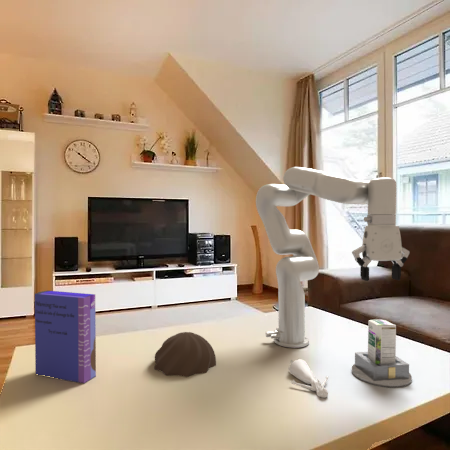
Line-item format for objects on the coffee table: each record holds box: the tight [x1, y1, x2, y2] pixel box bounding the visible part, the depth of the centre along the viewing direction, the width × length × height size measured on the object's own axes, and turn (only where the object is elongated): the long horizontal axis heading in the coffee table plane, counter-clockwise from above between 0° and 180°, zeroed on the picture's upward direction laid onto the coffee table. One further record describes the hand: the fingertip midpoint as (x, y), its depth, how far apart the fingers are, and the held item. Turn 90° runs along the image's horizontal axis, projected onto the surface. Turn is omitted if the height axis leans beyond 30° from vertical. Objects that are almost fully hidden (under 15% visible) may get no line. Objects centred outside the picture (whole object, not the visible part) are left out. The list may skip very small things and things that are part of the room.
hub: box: [351, 351, 413, 388], centre depth 104 cm, size 16×16×5 cm
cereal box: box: [34, 290, 97, 385], centre depth 103 cm, size 17×5×24 cm, turn 71°
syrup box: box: [367, 319, 397, 364], centre depth 104 cm, size 6×6×14 cm
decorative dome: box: [153, 331, 217, 378], centre depth 113 cm, size 19×20×10 cm
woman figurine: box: [288, 358, 329, 399], centre depth 99 cm, size 12×4×18 cm
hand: (380, 279), depth 104 cm, fingers open, 9 cm apart
